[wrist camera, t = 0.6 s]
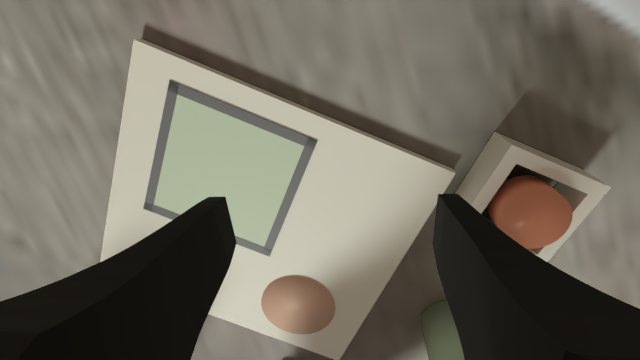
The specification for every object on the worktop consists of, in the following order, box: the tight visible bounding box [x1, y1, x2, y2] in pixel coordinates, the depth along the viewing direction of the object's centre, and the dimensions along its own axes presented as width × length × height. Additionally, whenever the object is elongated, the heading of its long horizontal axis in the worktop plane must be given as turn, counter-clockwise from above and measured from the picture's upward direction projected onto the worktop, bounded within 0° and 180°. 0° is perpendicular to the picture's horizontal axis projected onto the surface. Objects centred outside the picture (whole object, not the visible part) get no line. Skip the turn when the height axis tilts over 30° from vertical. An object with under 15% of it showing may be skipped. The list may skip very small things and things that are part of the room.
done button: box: [488, 175, 573, 249], centre depth 20 cm, size 4×4×2 cm
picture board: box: [100, 39, 456, 360], centre depth 24 cm, size 18×20×1 cm
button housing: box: [455, 132, 611, 262], centre depth 21 cm, size 6×6×2 cm
